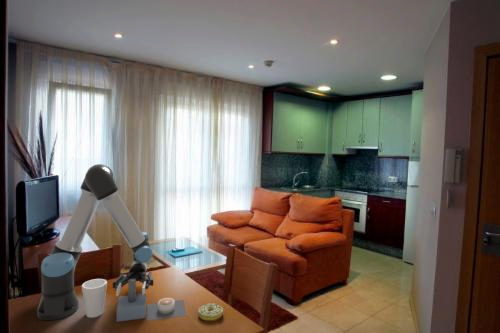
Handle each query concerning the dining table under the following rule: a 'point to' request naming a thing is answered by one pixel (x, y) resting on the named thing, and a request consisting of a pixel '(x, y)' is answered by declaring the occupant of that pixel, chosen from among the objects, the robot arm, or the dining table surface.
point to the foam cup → (94, 296)
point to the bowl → (166, 305)
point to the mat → (155, 315)
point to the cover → (131, 304)
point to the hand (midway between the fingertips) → (130, 292)
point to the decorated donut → (210, 312)
